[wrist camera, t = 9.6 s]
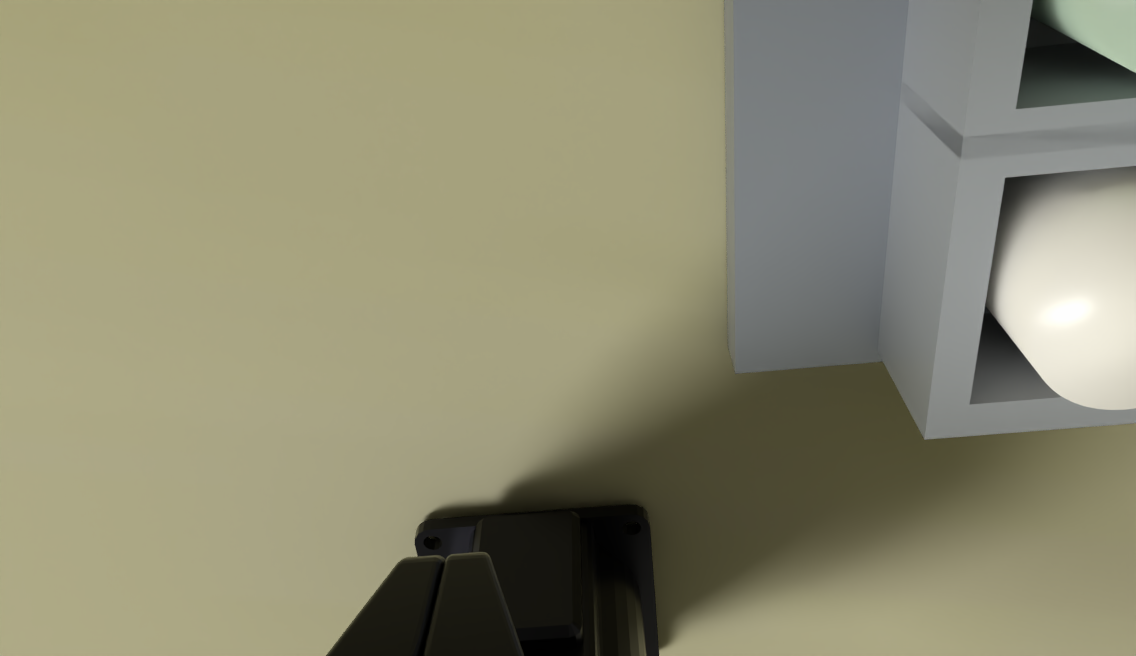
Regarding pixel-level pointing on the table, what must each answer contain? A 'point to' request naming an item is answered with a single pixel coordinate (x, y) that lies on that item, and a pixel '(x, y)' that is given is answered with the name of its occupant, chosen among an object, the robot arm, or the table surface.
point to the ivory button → (1071, 281)
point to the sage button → (1094, 25)
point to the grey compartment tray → (902, 191)
